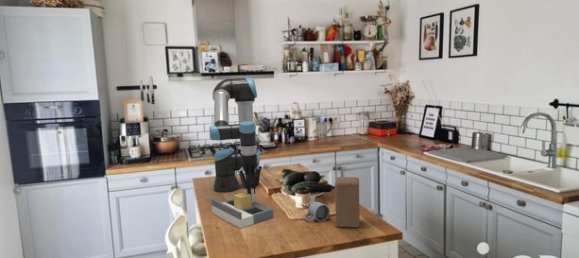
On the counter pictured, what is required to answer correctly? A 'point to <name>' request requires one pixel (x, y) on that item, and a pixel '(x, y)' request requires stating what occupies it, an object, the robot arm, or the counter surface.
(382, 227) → the counter surface
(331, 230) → the counter surface
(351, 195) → the wooden block
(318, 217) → the ceramic mug
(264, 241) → the counter surface
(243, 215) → the tray
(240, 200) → the ochre cube
